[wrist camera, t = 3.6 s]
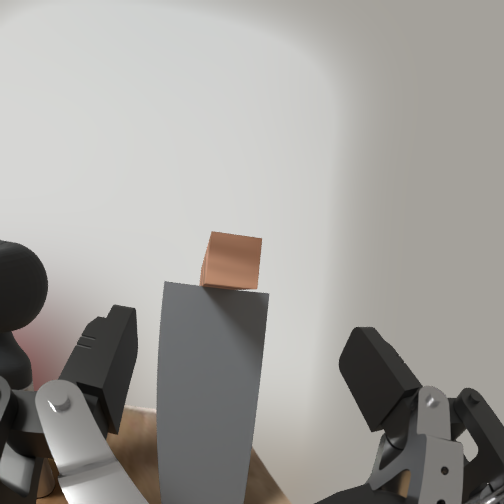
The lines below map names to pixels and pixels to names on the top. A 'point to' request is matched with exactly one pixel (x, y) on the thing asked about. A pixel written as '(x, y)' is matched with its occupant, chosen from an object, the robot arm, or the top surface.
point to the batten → (231, 262)
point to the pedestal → (207, 391)
